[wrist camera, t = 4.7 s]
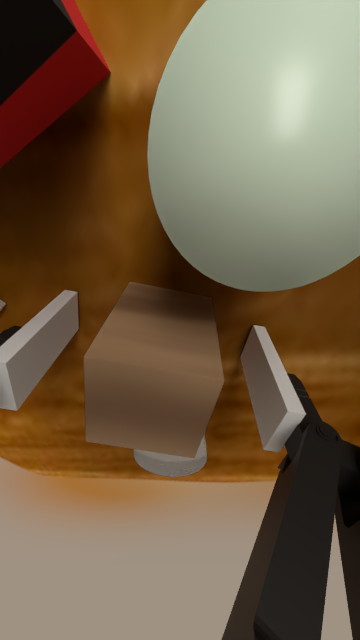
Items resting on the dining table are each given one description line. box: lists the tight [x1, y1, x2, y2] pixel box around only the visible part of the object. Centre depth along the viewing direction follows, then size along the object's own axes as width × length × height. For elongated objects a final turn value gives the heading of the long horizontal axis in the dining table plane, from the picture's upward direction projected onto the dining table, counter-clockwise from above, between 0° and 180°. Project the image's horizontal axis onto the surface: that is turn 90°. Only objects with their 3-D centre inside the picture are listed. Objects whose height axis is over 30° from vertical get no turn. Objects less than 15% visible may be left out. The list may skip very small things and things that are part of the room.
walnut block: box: [84, 282, 224, 458], centre depth 13 cm, size 5×5×7 cm
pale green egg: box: [147, 0, 360, 292], centre depth 8 cm, size 6×6×7 cm
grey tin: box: [134, 430, 207, 477], centre depth 18 cm, size 5×5×4 cm
